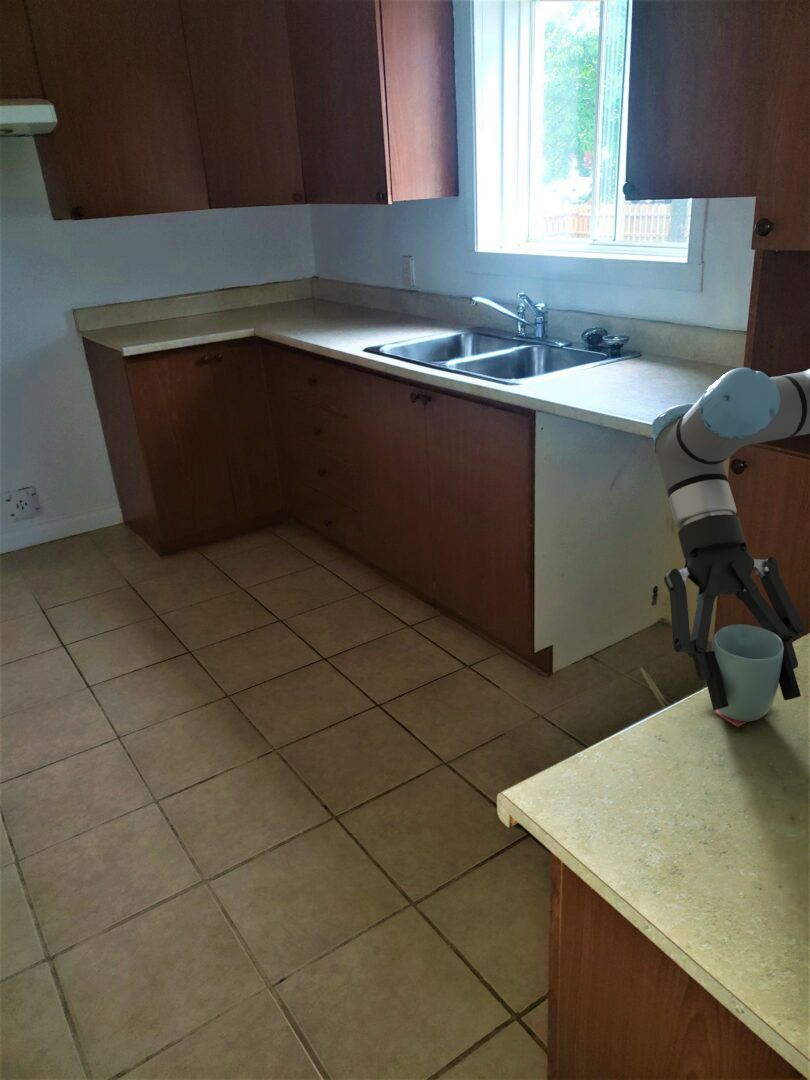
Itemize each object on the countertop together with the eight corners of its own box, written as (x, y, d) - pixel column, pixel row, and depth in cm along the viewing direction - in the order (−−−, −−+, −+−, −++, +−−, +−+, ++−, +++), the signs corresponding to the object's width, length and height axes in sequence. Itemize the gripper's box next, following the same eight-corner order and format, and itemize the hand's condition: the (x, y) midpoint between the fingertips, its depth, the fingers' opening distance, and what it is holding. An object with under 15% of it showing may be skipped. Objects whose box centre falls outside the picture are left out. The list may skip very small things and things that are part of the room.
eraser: (741, 703, 103) (742, 696, 102) (764, 716, 100) (765, 710, 100) (714, 717, 101) (714, 711, 100) (737, 732, 98) (737, 725, 97)
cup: (780, 702, 101) (791, 633, 96) (765, 738, 95) (776, 667, 91) (715, 684, 105) (723, 618, 101) (697, 718, 99) (704, 649, 95)
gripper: (772, 523, 107) (825, 696, 100) (618, 542, 106) (660, 719, 98) (800, 502, 100) (859, 686, 93) (635, 521, 99) (681, 710, 91)
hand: (756, 702), depth 95 cm, fingers closed on cup, 8 cm apart
